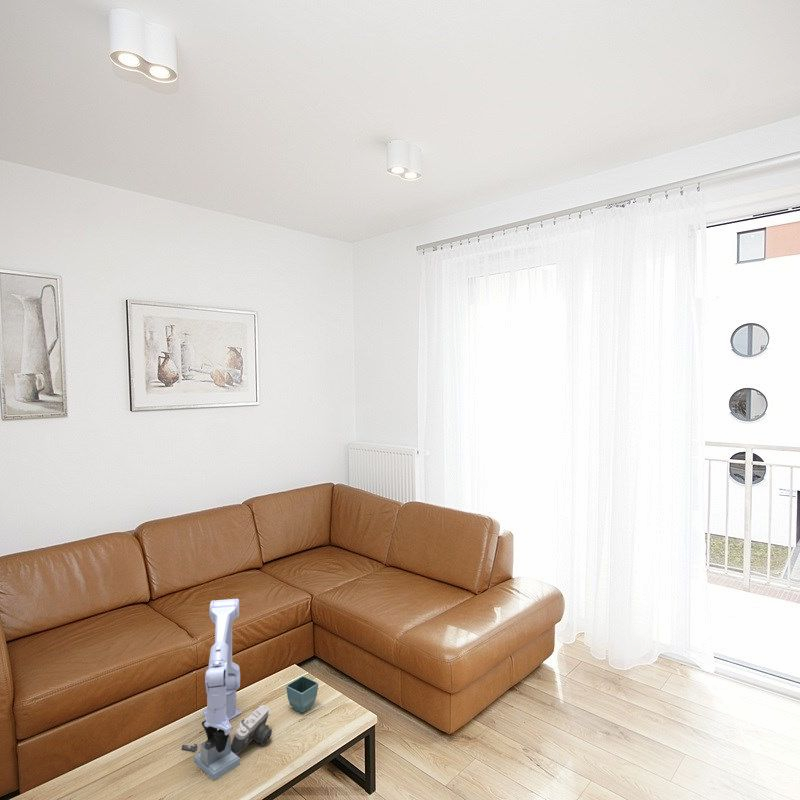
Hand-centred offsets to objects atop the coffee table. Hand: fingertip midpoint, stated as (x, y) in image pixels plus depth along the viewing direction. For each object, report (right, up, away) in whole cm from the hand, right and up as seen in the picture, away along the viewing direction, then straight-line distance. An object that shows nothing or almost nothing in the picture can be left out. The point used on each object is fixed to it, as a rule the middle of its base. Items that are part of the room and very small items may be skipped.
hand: (216, 746), depth 163 cm
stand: (0, -5, 0) cm, 5 cm away
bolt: (-12, -5, +6) cm, 14 cm away
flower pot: (+22, -5, +29) cm, 37 cm away
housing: (0, -3, 0) cm, 3 cm away
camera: (+10, -6, +10) cm, 15 cm away
